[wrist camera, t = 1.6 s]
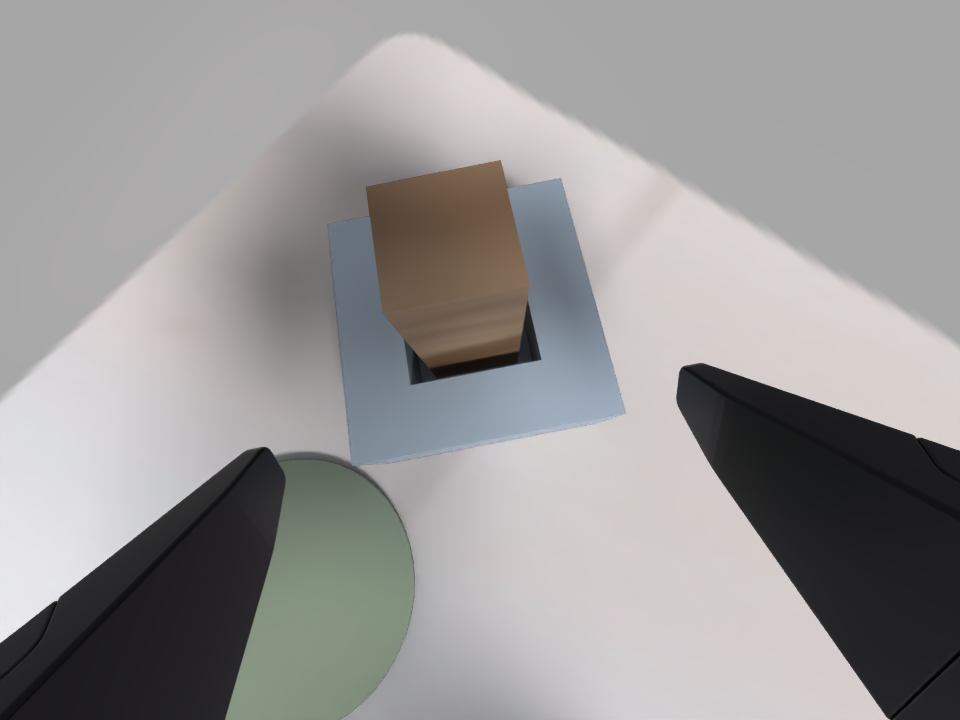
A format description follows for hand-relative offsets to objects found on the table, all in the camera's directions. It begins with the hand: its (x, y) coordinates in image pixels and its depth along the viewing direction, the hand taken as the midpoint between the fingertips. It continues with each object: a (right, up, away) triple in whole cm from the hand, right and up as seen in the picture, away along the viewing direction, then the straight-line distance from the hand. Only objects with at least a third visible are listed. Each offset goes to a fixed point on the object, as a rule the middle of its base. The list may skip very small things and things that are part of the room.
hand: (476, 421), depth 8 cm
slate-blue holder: (0, +2, +13) cm, 13 cm away
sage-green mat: (-9, -10, +11) cm, 17 cm away
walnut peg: (0, +3, +11) cm, 12 cm away
